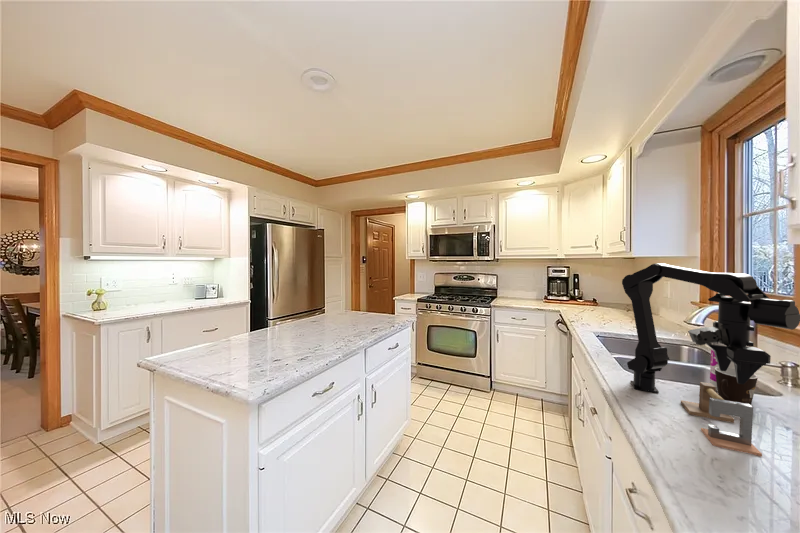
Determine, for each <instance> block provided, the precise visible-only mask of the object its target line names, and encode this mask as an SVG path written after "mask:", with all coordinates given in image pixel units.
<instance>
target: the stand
mask: <svg viewBox="0 0 800 533" xmlns="http://www.w3.org/2000/svg"><path fill="white" fill-rule="evenodd" d="M698 396H699V397H698V402H693V401H687V400H682V399H680V404H681V406H682V407H683V408H684V409H685V411H686V412H687V413H688V414H689V415H691V416H697V417H701V418H706V419H711V420H712V419H713V420H716V421H723V422H727V423H732V424H734V423H735V418H734V417H733V416H731V415H726V414H720V417H715V416H711V415H710V414H709V398H715V399H721V400H724V399H723V398H722V397H721V396H719V395H718V392H717V390H716V387H715V386H714V385H713V384H711V383H710V382H704V381H703V382H702V381H699V395H698Z"/></svg>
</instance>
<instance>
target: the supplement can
mask: <svg viewBox="0 0 800 533" xmlns="http://www.w3.org/2000/svg"><path fill="white" fill-rule="evenodd" d="M716 367H719V366H718V363H717V359H716V356H715V354H714V351H713V349H711V348H710V368H709V383H711V384H713V385H714V386H715V387H716V391H717V383H716V375H715V368H716ZM728 368H734V369H735V366H734V363H733V362H732V361H731V363H730V365H729V367H728Z"/></svg>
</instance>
